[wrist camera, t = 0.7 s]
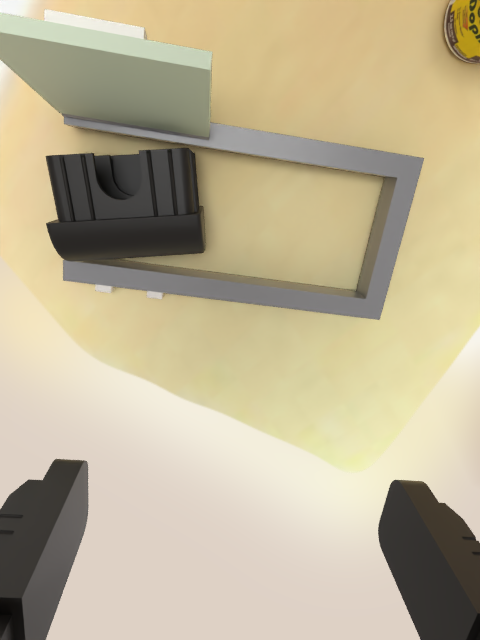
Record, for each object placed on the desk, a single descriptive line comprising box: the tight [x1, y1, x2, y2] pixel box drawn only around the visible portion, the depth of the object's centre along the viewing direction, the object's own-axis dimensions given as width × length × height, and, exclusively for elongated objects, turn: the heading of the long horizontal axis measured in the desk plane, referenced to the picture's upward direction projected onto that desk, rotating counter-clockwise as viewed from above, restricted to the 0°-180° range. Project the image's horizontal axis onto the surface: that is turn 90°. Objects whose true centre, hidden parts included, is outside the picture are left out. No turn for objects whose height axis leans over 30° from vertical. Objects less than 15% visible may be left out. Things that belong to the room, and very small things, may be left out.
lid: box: [0, 9, 212, 140], centre depth 23 cm, size 12×10×1 cm
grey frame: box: [63, 116, 424, 320], centre depth 33 cm, size 13×26×2 cm, turn 82°
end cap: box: [46, 148, 205, 262], centre depth 30 cm, size 10×7×7 cm
